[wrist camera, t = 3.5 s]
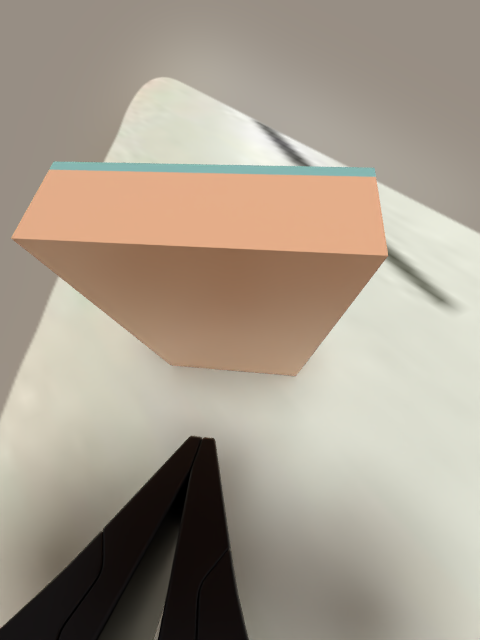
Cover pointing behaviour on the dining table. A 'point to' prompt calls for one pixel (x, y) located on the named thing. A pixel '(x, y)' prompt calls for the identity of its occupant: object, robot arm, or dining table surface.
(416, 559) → the dining table surface
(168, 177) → the glazed tile
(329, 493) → the dining table surface
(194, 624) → the robot arm
